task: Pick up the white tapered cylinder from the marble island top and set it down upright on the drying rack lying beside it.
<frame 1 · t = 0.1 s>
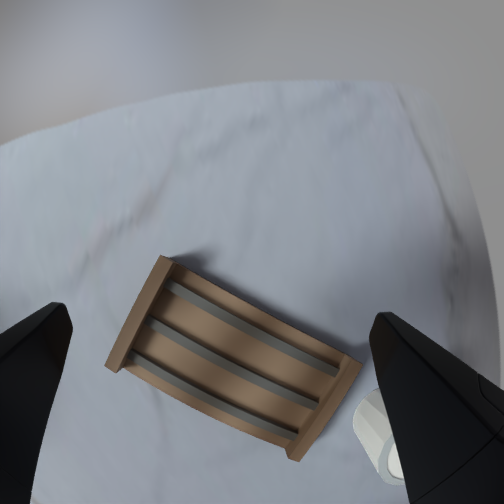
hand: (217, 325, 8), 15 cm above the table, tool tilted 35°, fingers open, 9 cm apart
white tapered cylinder: (380, 413, 23), on the table
glass rack: (233, 361, 23), on the table
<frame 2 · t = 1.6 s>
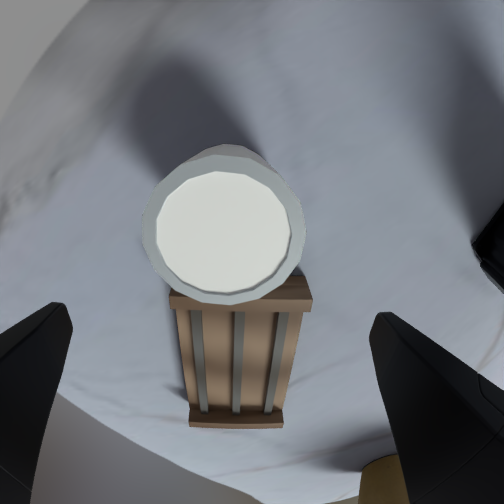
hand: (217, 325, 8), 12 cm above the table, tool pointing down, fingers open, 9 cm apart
plant pot: (382, 462, 42), on the table
white tapered cylinder: (227, 188, 19), on the table
glass rack: (237, 354, 25), on the table
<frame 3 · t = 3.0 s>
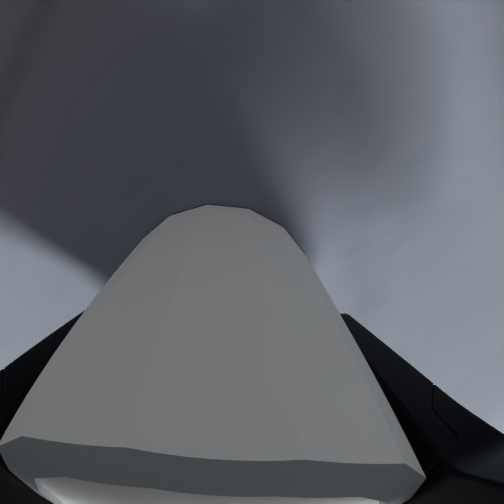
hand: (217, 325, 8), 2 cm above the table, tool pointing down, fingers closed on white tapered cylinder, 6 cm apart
white tapered cylinder: (219, 288, 10), on the table, touching gripper
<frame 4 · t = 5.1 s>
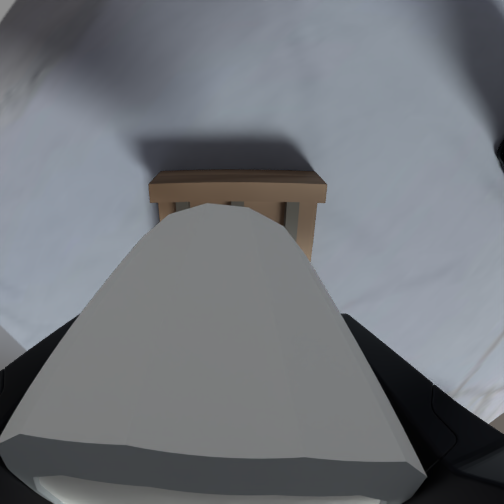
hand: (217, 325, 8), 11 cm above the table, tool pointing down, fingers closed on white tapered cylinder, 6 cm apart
white tapered cylinder: (219, 287, 10), point 10 cm above the table, touching gripper
glass rack: (237, 286, 21), on the table
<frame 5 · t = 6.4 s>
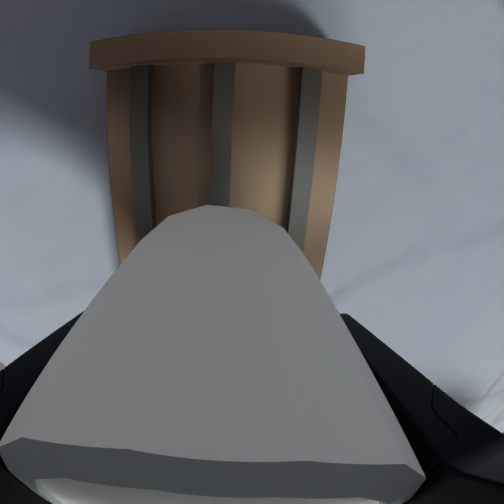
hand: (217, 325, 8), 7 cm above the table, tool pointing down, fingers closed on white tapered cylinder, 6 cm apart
white tapered cylinder: (219, 289, 10), point 5 cm above the table, touching gripper
glass rack: (221, 228, 14), on the table
when the fingers open (5 cm above the table, at t = 7.2 s): white tapered cylinder drops 2 cm, resting on glass rack.
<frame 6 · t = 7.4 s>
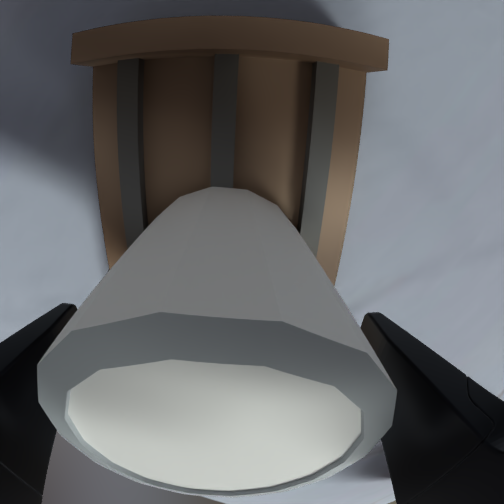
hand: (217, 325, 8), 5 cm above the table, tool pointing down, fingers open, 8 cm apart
white tapered cylinder: (223, 261, 11), point 2 cm above the table, touching glass rack
glass rack: (222, 242, 13), on the table
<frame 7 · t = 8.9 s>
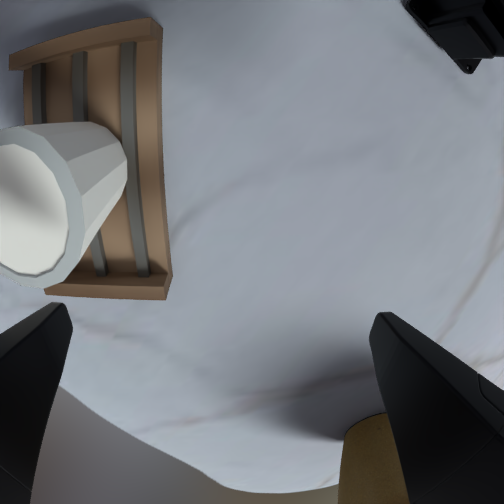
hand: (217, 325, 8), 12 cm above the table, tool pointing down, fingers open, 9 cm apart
plant pot: (372, 426, 33), on the table
white tapered cylinder: (85, 169, 16), point 2 cm above the table, touching glass rack
glass rack: (94, 163, 17), on the table
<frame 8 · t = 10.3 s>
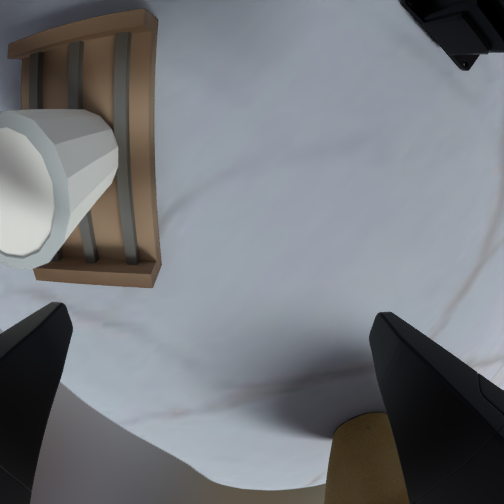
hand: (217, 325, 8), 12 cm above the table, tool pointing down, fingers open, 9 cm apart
plant pot: (362, 426, 34), on the table
white tapered cylinder: (77, 155, 16), point 2 cm above the table, touching glass rack
glass rack: (88, 151, 17), on the table
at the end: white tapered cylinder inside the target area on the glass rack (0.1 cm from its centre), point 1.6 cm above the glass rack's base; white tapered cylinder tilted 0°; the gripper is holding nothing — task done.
